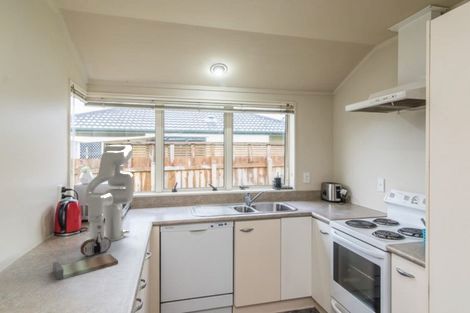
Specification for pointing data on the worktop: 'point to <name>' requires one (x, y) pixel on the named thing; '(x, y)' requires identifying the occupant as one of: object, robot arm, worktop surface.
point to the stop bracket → (58, 270)
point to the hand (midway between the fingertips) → (96, 251)
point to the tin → (88, 246)
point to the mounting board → (88, 265)
